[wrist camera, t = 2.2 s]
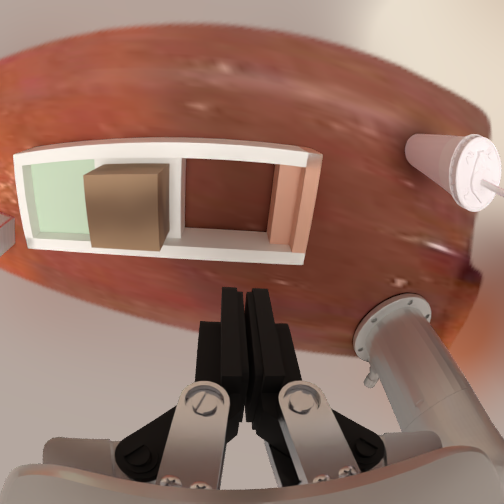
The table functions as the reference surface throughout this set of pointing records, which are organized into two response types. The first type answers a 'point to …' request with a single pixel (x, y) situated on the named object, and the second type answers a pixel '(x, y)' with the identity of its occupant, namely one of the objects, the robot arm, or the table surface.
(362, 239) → the table surface
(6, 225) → the milk carton
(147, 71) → the table surface
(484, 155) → the smoothie
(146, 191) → the block
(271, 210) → the box
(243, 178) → the table surface
